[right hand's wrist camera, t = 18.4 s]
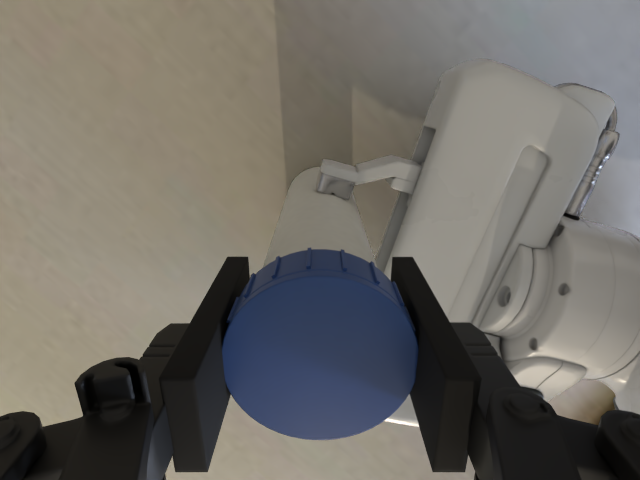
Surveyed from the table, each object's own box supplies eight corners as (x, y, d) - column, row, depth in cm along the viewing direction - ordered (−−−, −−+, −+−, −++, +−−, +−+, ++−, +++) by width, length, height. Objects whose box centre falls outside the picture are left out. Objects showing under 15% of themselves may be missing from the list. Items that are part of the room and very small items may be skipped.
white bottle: (328, 153, 26) (342, 248, 10) (365, 207, 28) (430, 368, 11) (273, 191, 27) (205, 335, 11) (312, 242, 28) (302, 437, 12)
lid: (201, 348, 13) (183, 389, 11) (293, 210, 11) (288, 232, 9) (341, 420, 14) (344, 468, 12) (443, 305, 12) (464, 340, 10)
